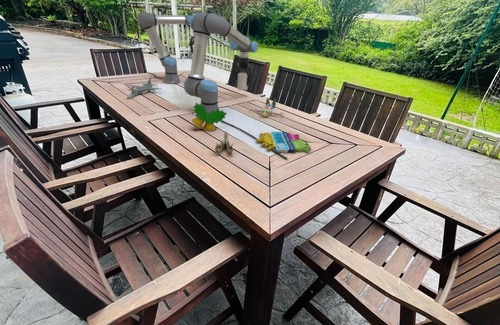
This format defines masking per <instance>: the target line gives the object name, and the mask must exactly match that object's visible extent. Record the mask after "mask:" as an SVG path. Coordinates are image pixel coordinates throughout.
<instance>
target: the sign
mask: <svg viewBox="0 0 500 325" xmlns="http://www.w3.org/2000/svg"><path fill="white" fill-rule="evenodd" d="M299 136H300V135H299V134H298V133H296V134H294V133H291V132H287V131H270V132H264V133H263V132H260V133H259V139H258V138H257V140H256V143H257V144H261V148H263V147H264V148H265V149H267V151H268V152H271V151H272V150H271V149H273V150H274V149H275V151H276V152H278V153H279V154H281V153H283V154H285V153H287V154H288V153H290V154H293V153H296V152H298V153H301V152H305V153H310V151H311V150H312V149H311V148H312V146H309V142H304V141H303V139H302V138H299ZM261 142H263V143H261ZM268 146H269V147H268Z"/></svg>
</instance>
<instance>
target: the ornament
mask: <svg viewBox="0 0 500 325" xmlns="http://www.w3.org/2000/svg"><path fill="white" fill-rule="evenodd" d="M219 110H220V108H219V109H217V110H216V111H214V110H212V112H211V113H208V112H206V109H204V106H201V103H198V102H195V105H194V106H193V112H194V113H195V118H192V119H191V122H192V123H193V125H195V127H197V128H198V129H202V130H203V131H206V132H212V131H213V132H214V131H215V130H216V126H215V124H218V123H219V122H222V121H223V119H226V115H227V114H228V113H227V112H224V110H223V109H221V110H220V111H219ZM207 113H208V115H207ZM214 123H215V124H214ZM222 123H223V122H222Z"/></svg>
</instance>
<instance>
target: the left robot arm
mask: <svg viewBox="0 0 500 325" xmlns="http://www.w3.org/2000/svg"><path fill="white" fill-rule="evenodd" d="M193 14H195V13H194V12H193V13H191V15H190V14H180V15H179V14H156V13H151V12H146V11H140V12H139V13H138V14H137V17H136V18H137V23H138V24H139V25H140V26H141V29H142V30H143V31H144V32H146V34H147V36H148V38H149V39H150V41H151V43H152V45H153V47H154V48H155V51H156V52H157V54H158V56H159V57H158V59H159V61H160V64H161V66H162V67H163V68H164V73H165V75H164V77H158V76H156V74H154V73H152V72H150V71H149V72H148V71H147V70H144V71H143V73H147V74H151V75H153V76H154V77H155V78H157V79H161V80H163V83H165V84H169V85H170V84H172V85H173V84H174V85H175V84H180V82H181V80H180V78H179V74H178V61H177V58H176V57H175V56H171V53H169V52H168V51H167V49H166V47H165V45H164V43H163V41H162V39H161V38H160V36H159V33H158V32H157V30H156V28H155V27H158V25H186V26H187V25H188V26H189V25H190V20H191V17H192V15H193ZM190 26H191V25H190ZM194 39H195V36H194V34H193V33H192V35H190V39H189V43H188V46H189V48H190V54H192V55H193V48H194Z"/></svg>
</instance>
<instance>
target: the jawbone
mask: <svg viewBox="0 0 500 325" xmlns="http://www.w3.org/2000/svg"><path fill="white" fill-rule="evenodd" d="M223 135H224V136H223V140H222V139H221V142H220V144H218V142H215V144H216V146H215V148H214V149H215V152H214V154H215V155H217V156H218V155H220V153H221V152H223V151H224V150H226V152H227V153H228V155H229V156H233V155H234V154H233V153H234V148H233V144H234V143H230V140H228V139H229V138H228V137H229V136H228V135H229V133H228V131H226V132H224V134H223Z"/></svg>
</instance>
